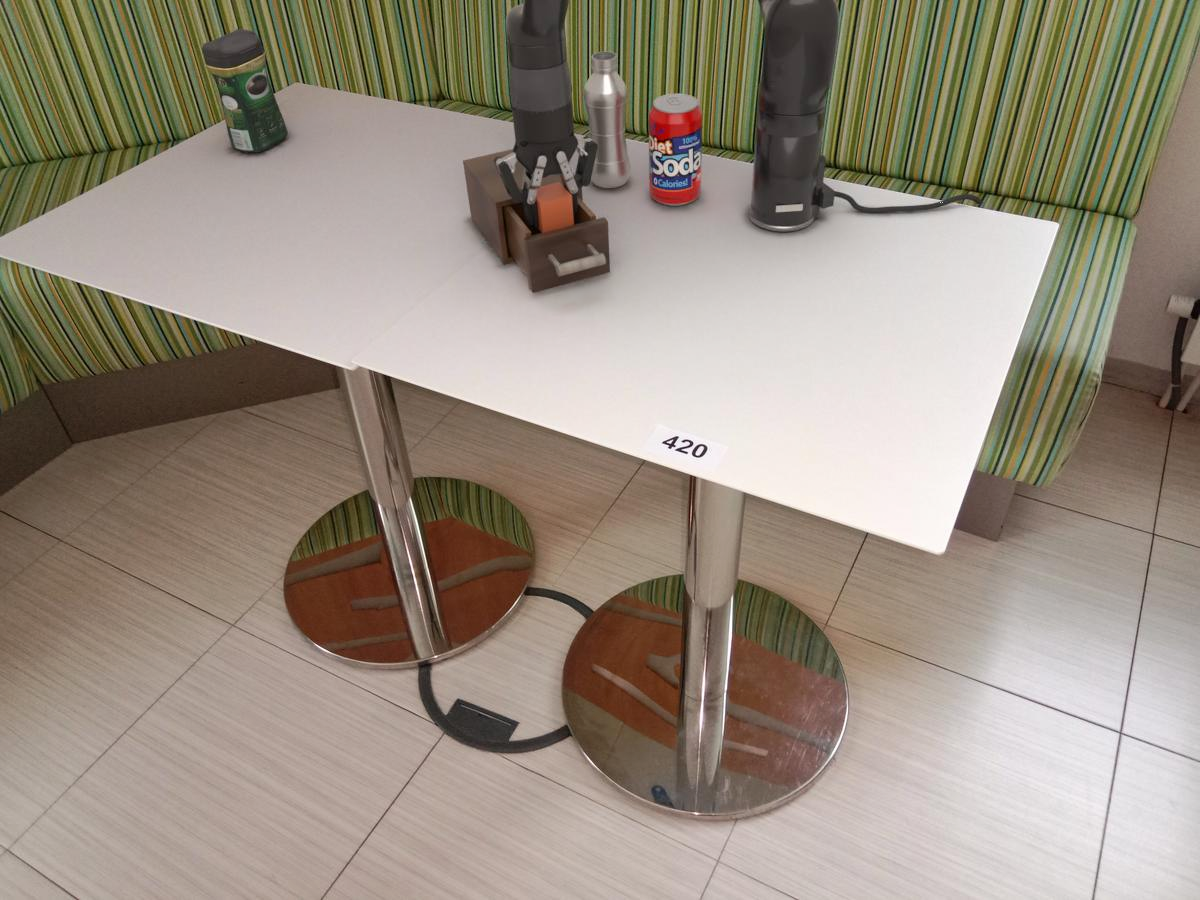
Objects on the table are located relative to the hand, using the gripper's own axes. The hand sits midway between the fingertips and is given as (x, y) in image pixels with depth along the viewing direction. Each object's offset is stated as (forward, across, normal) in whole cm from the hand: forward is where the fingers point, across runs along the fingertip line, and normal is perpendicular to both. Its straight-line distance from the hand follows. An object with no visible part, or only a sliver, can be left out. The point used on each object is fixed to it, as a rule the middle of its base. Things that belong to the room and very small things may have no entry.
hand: (552, 220), depth 131 cm
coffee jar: (+8, +31, -64) cm, 71 cm away
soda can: (+8, -24, -10) cm, 27 cm away
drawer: (+6, 0, +2) cm, 7 cm away
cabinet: (+7, 0, -12) cm, 14 cm away
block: (0, 0, 0) cm, 0 cm away
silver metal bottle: (+8, -17, -20) cm, 27 cm away
